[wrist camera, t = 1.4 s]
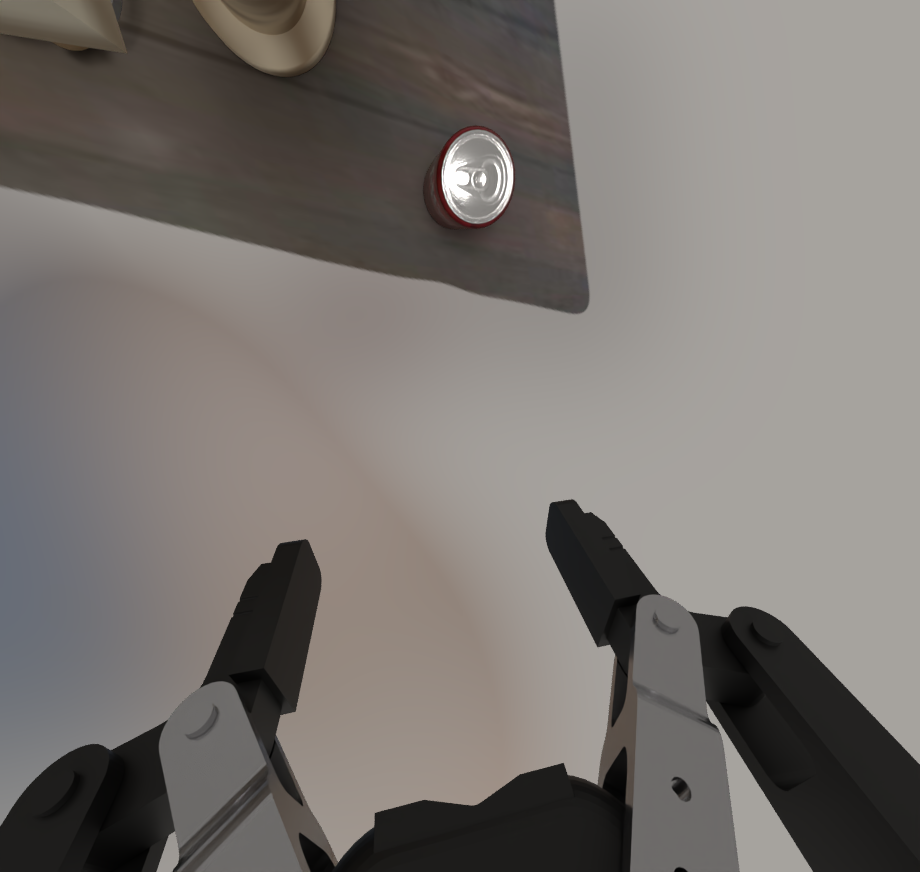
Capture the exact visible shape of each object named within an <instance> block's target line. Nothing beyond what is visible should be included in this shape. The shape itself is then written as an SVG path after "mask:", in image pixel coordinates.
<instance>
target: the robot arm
mask: <svg viewBox="0 0 920 872" xmlns="http://www.w3.org/2000/svg"><path fill="white" fill-rule="evenodd" d="M546 542H547V546H548V549H549V552H550V553H551V555H552V557H553V560H554V561H555V563H556V565H557V568H558V569H559V571H560V573H561V575H562V577H563V579H564V581H565V583H566V585H567V587H568V589H569V591H570V593H571V595H572V597H573V599H574V601H575V603H576V605H577V607H578V609H579V611H580V613H581V615H582V617H583V619H584V621H585V623H586V625H587V627H588V629H589V631H590V633H591V635H592V637H593V639H594V641H595V643H596V645H597V647H601V646H606V645H611V647H612V649H613V651H614V653H615V659H614V666H613V676H612V686H611V696H610V705H609V715H608V725H607V732H606V737H605V741H604V745H603V750H602V755H601V761H600V768H599V777H598V785H596V784H594V783H591V782H589V781H587V780H585V779H582V778H579V777H575V776H570V775H567V772H566V769H565V766H564V763H562V764H558V765H554V766H551V767H547V768H543V769H539V770H535V771H531V772H528V773H524V774H520V775H519V776H517V777H516V778H514V779H513V780H512V781H510V782H509V783H508V784H506V785H505V786H504V787H502V788H501V789H499V790H498V791H496V792H495V793H494V794H492V795H491V796H490V797H488V798H487V799H485V800H484V801H482V802H481V803H479V804H478V805H474V806H469V805H461V804H453V803H445V802H436V801H428V800H422V801H418V802H415V803H411V804H407V805H403V806H399V807H396V808H392V809H388V810H384V811H381V812H377V813H375V825H374V828H372V829H371V830H369V831H368V832H367V833H365V834H364V835H363V836H362V837H361V838H360V839H359V840H358V841H357V842H355V843H354V844H353V846H352V847H351V848H350V849H349V850H348V851H347V852H346V853H345V855H344V856H343V857H342V858H341V860H340V861H339V862H338V861H337V859H336V857H335V855H334V853H333V851H332V848H331V846H330V844H329V842H328V840H327V838H326V836H325V834H324V832H323V830H322V828H321V826H320V825H319V823H318V821H317V820H316V818H315V817H314V815H313V813H312V812H311V810H310V808H309V806H308V804H307V802H306V800H305V798H304V796H303V793H302V791H301V789H300V787H299V784H298V782H297V780H296V778H295V776H294V773H293V771H292V769H291V767H290V765H289V762H288V760H287V758H286V756H285V753H284V751H283V749H282V747H281V745H280V742H279V740H278V738H277V736H276V731H277V726H278V722H279V718H280V715H283V714H287V713H292V712H295V711H296V707H297V702H298V697H299V692H300V687H301V682H302V678H303V673H304V668H305V663H306V659H307V654H308V649H309V644H310V639H311V635H312V630H313V625H314V620H315V615H316V610H317V606H318V600H319V596H320V591H321V572H320V568H319V566H318V563H317V561H316V559H315V556H314V553H313V551H312V549H311V546H310V544H309V542H308V540H306V539H305V540H298V541H292V542H285V543H280V544H279V545H278V546H277V548H276V551H275V554H274V556H273V559H272V562H271V563H265V564H261V565H260V566H259V567H258V569H257V570H256V571H255V572H254V573H253V575H252V576H251V577H250V578H249V579H248V581H247V583H246V585H245V588H244V590H243V592H242V594H241V597H240V602H238V604H237V606H236V608H235V611H234V613H233V615H234V616H233V617H232V618H231V620H230V622H229V625H228V627H227V630H226V632H225V634H224V636H223V639H222V641H221V644H220V646H219V648H218V650H217V653H216V655H215V657H214V660H213V662H212V664H211V667H210V669H209V671H208V674H207V676H206V678H205V680H204V682H203V684H202V685H201V687H200V688H199V689H198V690H196V691H195V692H193V693H192V694H191V695H189V696H188V697H187V698H186V699H185V700H184V701H183V702H182V703H181V704H180V705H179V706H178V707H177V708H176V709H175V711H174V712H173V713H172V715H171V716H170V718H169V719H168V720H167V721H165V722H164V723H162V724H160V725H159V726H157V727H155V728H153V729H151V730H149V731H147V732H145V733H143V734H141V735H140V736H138V737H136V738H134V739H132V740H130V741H128V742H126V743H124V744H122V745H120V746H118V747H117V748H115V749H113V750H109V749H107V748H106V747H104V746H102V745H99V744H90V745H85V746H82V747H80V748H77V749H75V750H73V751H71V752H69V753H68V754H66V755H64V756H63V757H61V758H60V759H58V760H57V761H56V762H54V763H53V764H51V765H50V766H49V767H48V768H47V769H46V770H44V771H43V772H42V773H41V774H40V775H39V776H38V777H37V778H36V779H35V780H34V781H33V782H32V783H31V784H30V785H29V786H28V787H27V788H26V790H25V791H24V792H23V793H22V795H21V796H20V797H19V799H18V800H17V802H16V803H15V804H14V806H13V807H12V809H11V810H10V812H9V814H8V815H7V817H6V819H5V820H4V822H3V823H2V825H1V826H0V872H156V871H157V868H158V865H159V862H160V859H161V856H162V853H163V850H164V847H165V844H166V841H167V838H168V836H169V834H171V833H173V832H174V831H175V832H176V837H177V842H178V848H179V862H178V864H177V866H176V867H175V868H174V870H173V872H739V864H738V856H737V848H736V840H735V832H734V825H733V817H732V809H731V801H730V793H729V785H728V777H727V769H726V762H725V754H724V747H723V742H722V738H721V734H720V732H719V730H718V728H717V726H716V725H714V724H712V723H711V722H710V720H709V718H708V714H707V707H706V702H707V703H708V704H709V706H710V708H711V710H712V711H713V712H714V714H715V716H716V717H717V719H718V721H719V722H720V724H721V725H722V727H723V729H724V730H725V732H726V733H727V735H728V737H729V738H730V740H731V741H732V743H733V744H734V746H735V748H736V749H737V751H738V753H739V754H740V756H741V757H742V759H743V761H744V762H745V764H746V765H747V767H748V769H749V770H750V772H751V773H752V775H753V776H754V778H755V780H756V781H757V783H758V784H759V786H760V788H761V789H762V791H763V792H764V794H765V796H766V797H767V799H768V800H769V802H770V804H771V805H772V807H773V808H774V810H775V812H776V813H777V815H778V816H779V818H780V820H781V821H782V823H783V824H784V826H785V828H786V829H787V831H788V832H789V834H790V835H791V837H792V838H793V840H794V842H795V843H796V845H797V847H798V848H799V850H800V851H801V853H802V855H803V856H804V858H805V859H806V861H807V862H808V864H809V866H810V867H811V869H812V870H813V872H920V764H919V763H917V761H916V760H915V759H914V758H913V757H912V756H911V755H910V754H909V753H908V752H907V751H906V750H905V749H904V748H903V747H902V746H901V745H900V744H899V743H898V741H897V740H896V739H895V738H894V737H893V736H892V735H891V734H890V733H889V732H888V731H887V730H886V729H885V728H884V727H883V726H882V725H881V724H880V723H879V722H878V721H877V720H876V718H875V717H873V716H872V715H871V713H869V711H868V710H867V709H866V708H865V707H864V706H863V705H862V704H861V703H860V702H859V701H858V700H857V699H856V698H855V697H854V696H853V695H852V694H851V692H850V691H849V690H848V689H847V688H846V687H845V686H844V685H843V684H842V683H841V682H840V681H839V680H838V679H837V678H836V677H835V676H834V675H833V674H832V673H831V672H830V670H828V668H827V667H825V665H824V664H823V663H822V662H821V661H820V660H819V659H818V658H817V657H816V656H815V655H814V654H813V653H812V652H811V651H810V650H809V649H808V648H807V646H806V645H805V644H804V643H803V642H802V641H801V640H800V639H799V638H798V637H797V636H796V635H795V634H794V633H793V632H792V631H791V630H790V629H789V628H788V627H787V626H786V625H785V624H783V623H782V622H781V621H780V620H778V619H777V618H775V617H774V616H772V615H770V614H768V613H766V612H764V611H762V610H759V609H756V608H752V607H738V608H736V609H734V610H733V611H732V612H731V614H730V615H729V617H720V616H713V615H705V614H699V613H693V612H689V611H687V610H686V609H685V608H684V607H683V606H681V605H680V604H679V603H677V602H676V601H674V600H672V599H670V598H668V597H665V596H661V595H660V594H659V593H658V592H657V591H656V590H655V588H654V587H653V586H652V584H651V583H650V582H649V580H648V579H647V578H646V576H645V575H644V574H643V572H642V571H641V570H640V568H639V567H638V566H637V564H636V563H635V562H634V560H633V559H632V558H631V557H630V555H629V554H628V552H627V551H626V550H625V549H623V546H622V544H621V543H620V542H619V540H618V539H617V538H615V535H614V534H613V532H612V531H611V530H610V528H609V527H608V526H607V524H606V523H605V522H604V521H602V520H601V519H599V518H598V517H597V516H595V515H594V514H593V513H591V512H590V513H584V512H583V511H582V509H581V508H580V507H579V505H578V504H577V502H576V501H574V500H565V501H558V502H552V503H551V504H550V507H549V513H548V520H547V527H546Z"/></svg>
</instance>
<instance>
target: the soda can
mask: <svg viewBox="0 0 920 872" xmlns="http://www.w3.org/2000/svg"><path fill="white" fill-rule="evenodd" d="M514 186H515V168H514V162H513V158H512V156H511V153H510V150H509V148H508V147H507V145H506V143H505V142H504V141H503V139H502V138H501V137H500V136H499V135H498V134H497V133H495V132H494V131H493V130H491V129H488V128H486V127H483V126H469V127H466V128H463V129H461V130H459V131H458V132H456V133H455V134H454V135H452V137H451V138H450V139H449V140H448V141H447V143H446V144H445V145H444V147H443V148H442V149H441V151H440V152H439V154H438V155H437V156H436V158H435V159H434V161H433V162H432V163H431V165H430V167H429V169H428V170H427V173H426V176H425V179H424V186H423V194H424V200H425V204H426V207H427V209H428V211H429V213H430V215H431V216H432V218H433V219H434V220H435V221H436V222H437V223H438V224H440V225H441V226H443V227H445V228H448V229H454V230H458V229H478V228H484V227H486V226H489V225H491V224H493V223H494V222H495V221H497V220H498V219H499V218H500V217H501V216H502V215H503V214H504V212H505V211H506V209H507V207H508V206H509V203H510V201H511V199H512V195H513V191H514Z"/></svg>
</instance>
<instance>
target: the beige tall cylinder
mask: <svg viewBox="0 0 920 872" xmlns="http://www.w3.org/2000/svg"><path fill="white" fill-rule="evenodd" d="M192 1H193V3H194V4H195V6H196V8H197V9H198V11H199V12H200V14H201V15H202V16H203V18H204V19H205V20H206V22H207V23H208V24H209V26H210V27H211V28H212V29H213V30H214V32H215V33H216V34H217V35H218V36H219V38H220V39H221V40H222V41H223V42H224V43H225V45H226V46H227V47H228V48H229V49H230V50H231V51H232V52H234V53H235V54H236V55H237V56H238V57H239V58H241V59H242V60H243V61H244V62H246V63H247V64H249V65H250V66H252V67H254V68H255V69H257V70H259V71H262V72H264V73H267V74H270V75H273V76H279V77H293V76H298V75H301V74H303V73H306V72H307V71H309V70H310V69H312V68H313V67H314V66H315V65H316V64H317V63H318V62H319V61H320V60H321V59H322V57H323V56H324V54H325V52H326V50H327V48H328V46H329V44H330V41H331V38H332V35H333V30H334V26H335V17H336V0H192Z"/></svg>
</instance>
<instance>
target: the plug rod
mask: <svg viewBox="0 0 920 872" xmlns="http://www.w3.org/2000/svg"><path fill="white" fill-rule="evenodd" d="M0 34H6V35H13V36H19V37H25V38H32V39H38V40H44V41H51V42H57V43H63V44H70V45H76V46H82V47H89V48H95V49H101V50H108V51H114V52H120V53H127V50H126V47H125V44H124V41H123V38H122V34H121V31H120V28H119V25H118V22H117V19H116V16H115V12H114V9H113V6H112V3H111V0H0ZM127 54H128V53H127Z"/></svg>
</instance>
